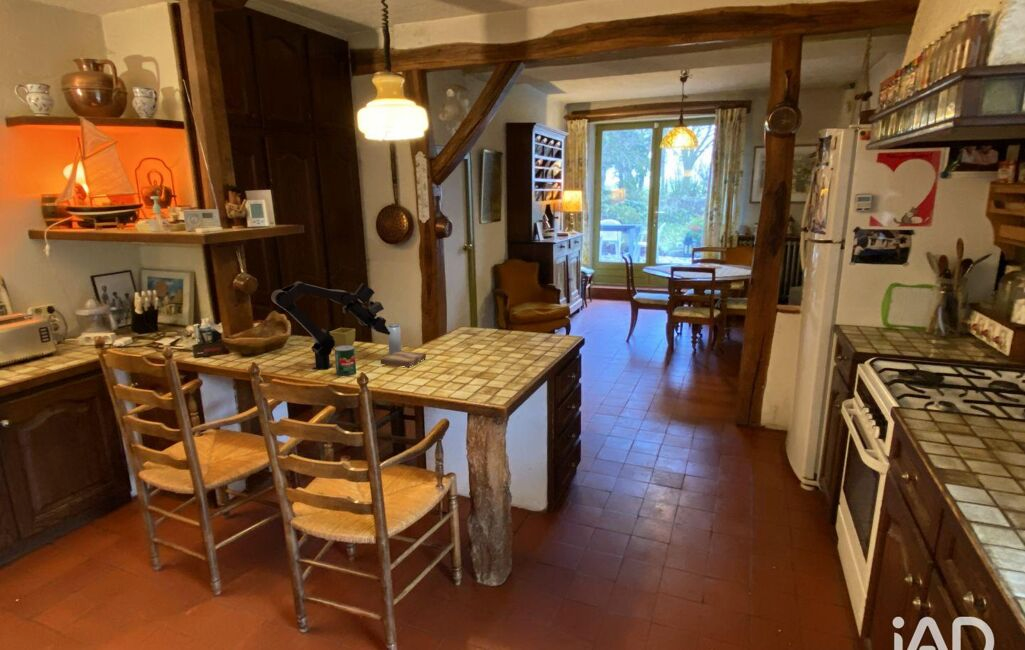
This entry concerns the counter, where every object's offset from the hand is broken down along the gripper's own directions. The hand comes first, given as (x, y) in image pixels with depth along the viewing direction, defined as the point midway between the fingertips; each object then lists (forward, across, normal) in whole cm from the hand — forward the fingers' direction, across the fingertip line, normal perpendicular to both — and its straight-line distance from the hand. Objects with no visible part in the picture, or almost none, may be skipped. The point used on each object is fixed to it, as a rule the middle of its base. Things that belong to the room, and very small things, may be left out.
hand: (385, 332), depth 254 cm
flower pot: (0, +24, +16) cm, 28 cm away
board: (+9, -14, +7) cm, 18 cm away
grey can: (+11, 0, +5) cm, 12 cm away
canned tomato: (-10, -15, +25) cm, 31 cm away
